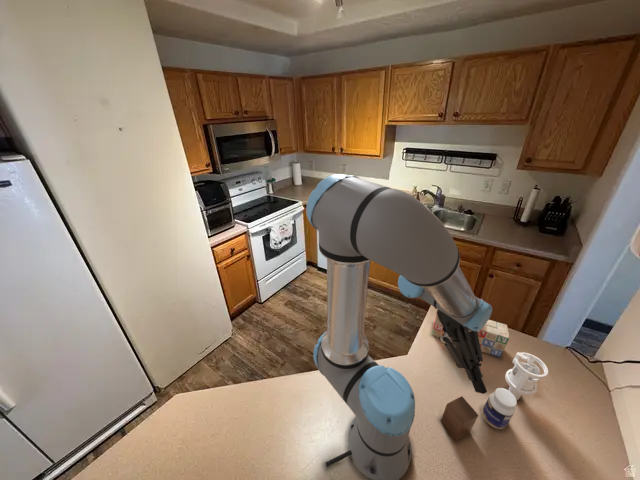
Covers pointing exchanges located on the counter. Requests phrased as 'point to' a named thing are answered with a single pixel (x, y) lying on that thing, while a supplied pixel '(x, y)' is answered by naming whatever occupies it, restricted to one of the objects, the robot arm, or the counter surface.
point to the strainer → (525, 375)
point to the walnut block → (459, 417)
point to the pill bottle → (499, 408)
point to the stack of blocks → (484, 336)
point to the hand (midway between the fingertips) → (481, 391)
